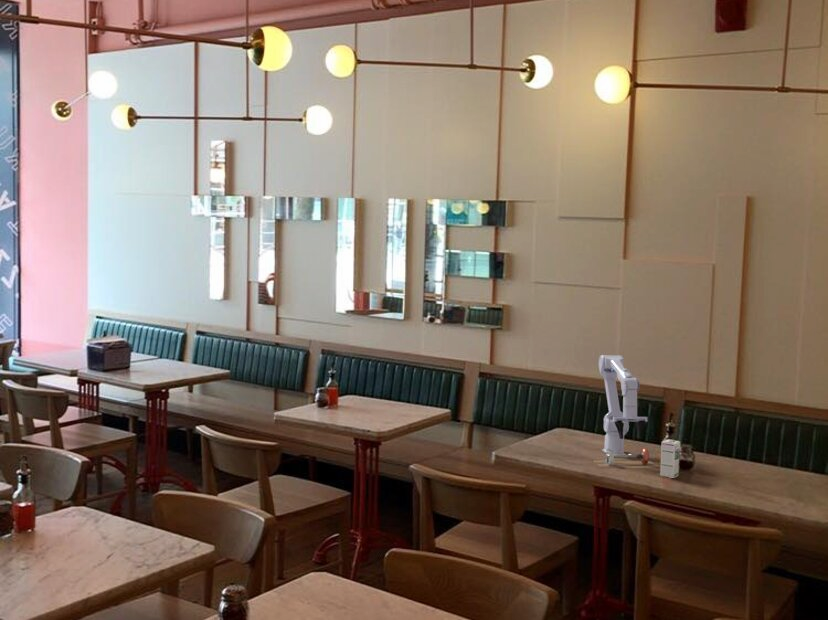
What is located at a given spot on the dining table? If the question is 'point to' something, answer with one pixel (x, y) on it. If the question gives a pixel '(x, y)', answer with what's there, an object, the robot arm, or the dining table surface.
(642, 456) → the red knobbed metal rod
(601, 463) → the light tan board
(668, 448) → the syrup box
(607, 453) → the square metal loop
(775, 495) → the dining table surface
